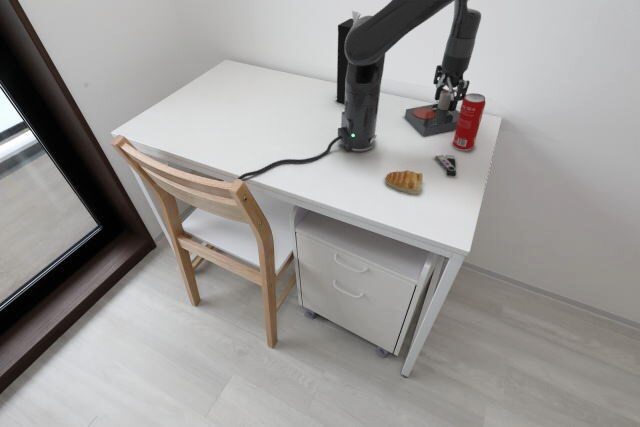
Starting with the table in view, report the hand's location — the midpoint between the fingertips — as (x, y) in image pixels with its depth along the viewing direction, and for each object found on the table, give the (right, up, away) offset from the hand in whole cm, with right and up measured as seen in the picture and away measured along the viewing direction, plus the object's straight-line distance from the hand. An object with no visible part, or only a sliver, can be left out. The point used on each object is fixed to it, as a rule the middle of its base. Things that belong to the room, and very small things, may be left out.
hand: (444, 104), depth 109 cm
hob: (-3, -6, 0) cm, 7 cm away
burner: (-7, -3, -2) cm, 8 cm away
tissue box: (-29, +5, +11) cm, 32 cm away
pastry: (-18, -28, -22) cm, 40 cm away
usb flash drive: (-6, -22, -16) cm, 28 cm away
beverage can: (+1, -15, -9) cm, 18 cm away
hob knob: (0, -1, +1) cm, 1 cm away
